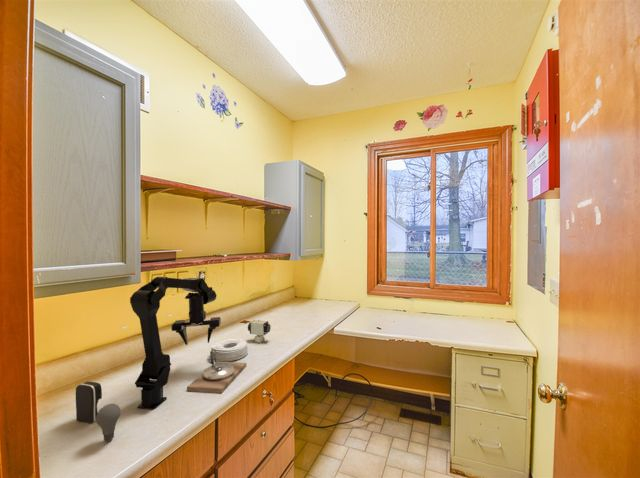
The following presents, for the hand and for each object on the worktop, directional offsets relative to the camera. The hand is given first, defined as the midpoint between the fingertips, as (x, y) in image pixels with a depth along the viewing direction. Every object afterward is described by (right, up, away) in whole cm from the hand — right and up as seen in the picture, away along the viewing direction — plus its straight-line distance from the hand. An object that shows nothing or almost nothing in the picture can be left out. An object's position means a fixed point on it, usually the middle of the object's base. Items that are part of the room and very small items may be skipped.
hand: (197, 343), depth 121 cm
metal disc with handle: (+10, -10, -4) cm, 15 cm away
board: (+11, -12, -5) cm, 17 cm away
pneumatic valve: (+19, -12, +35) cm, 42 cm away
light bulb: (-7, -13, -41) cm, 43 cm away
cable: (+8, -13, +17) cm, 23 cm away
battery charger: (-21, -13, -31) cm, 39 cm away
